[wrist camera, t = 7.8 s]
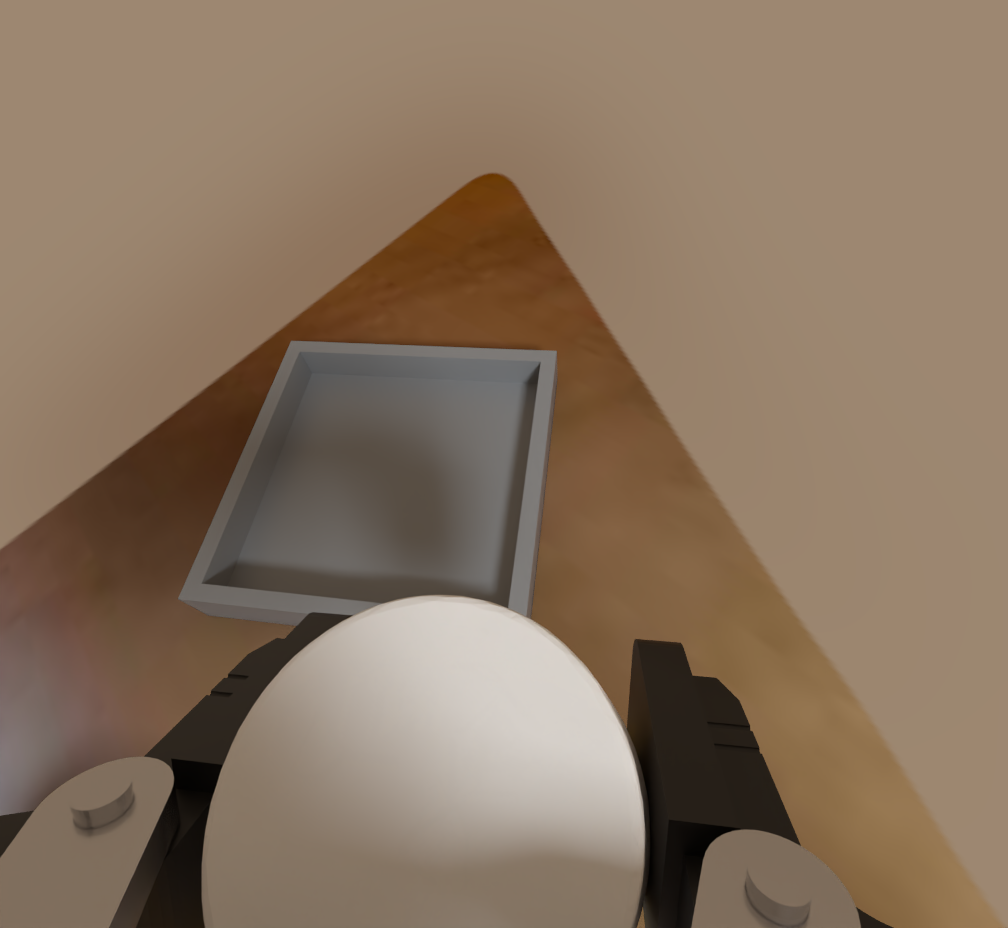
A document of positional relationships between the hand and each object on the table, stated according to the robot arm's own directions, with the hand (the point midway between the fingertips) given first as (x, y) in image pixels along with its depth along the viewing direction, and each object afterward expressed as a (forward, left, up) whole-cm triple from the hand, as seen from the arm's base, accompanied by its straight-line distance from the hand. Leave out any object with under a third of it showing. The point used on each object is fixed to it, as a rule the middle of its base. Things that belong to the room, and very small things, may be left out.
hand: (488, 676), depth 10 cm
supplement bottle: (0, -2, -4) cm, 5 cm away
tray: (-8, +12, -16) cm, 21 cm away
